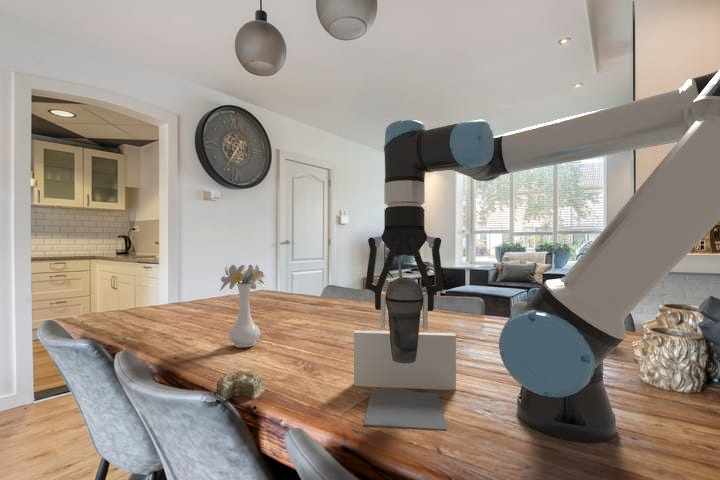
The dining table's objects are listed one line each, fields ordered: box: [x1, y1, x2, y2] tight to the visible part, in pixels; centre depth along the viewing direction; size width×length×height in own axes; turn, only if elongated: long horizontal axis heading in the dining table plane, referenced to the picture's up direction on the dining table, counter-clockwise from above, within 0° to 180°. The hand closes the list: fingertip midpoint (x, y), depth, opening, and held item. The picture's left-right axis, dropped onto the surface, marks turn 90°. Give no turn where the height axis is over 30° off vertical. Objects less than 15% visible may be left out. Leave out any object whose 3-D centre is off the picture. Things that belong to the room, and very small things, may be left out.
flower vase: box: [219, 264, 266, 348], centre depth 111 cm, size 13×18×25 cm
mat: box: [363, 389, 448, 431], centre depth 68 cm, size 14×14×1 cm
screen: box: [353, 329, 457, 391], centre depth 79 cm, size 22×2×12 cm, turn 83°
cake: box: [214, 370, 265, 400], centre depth 75 cm, size 10×10×5 cm
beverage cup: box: [385, 256, 424, 364], centre depth 68 cm, size 7×7×20 cm
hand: (404, 327), depth 68 cm, fingers closed on beverage cup, 7 cm apart
